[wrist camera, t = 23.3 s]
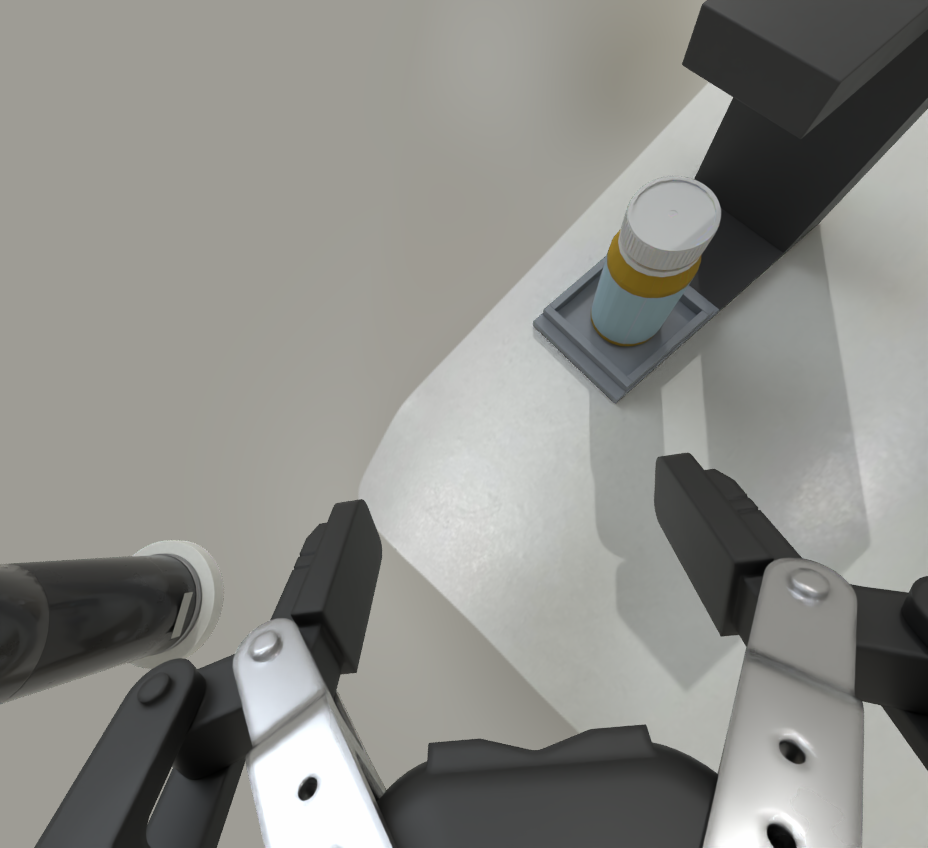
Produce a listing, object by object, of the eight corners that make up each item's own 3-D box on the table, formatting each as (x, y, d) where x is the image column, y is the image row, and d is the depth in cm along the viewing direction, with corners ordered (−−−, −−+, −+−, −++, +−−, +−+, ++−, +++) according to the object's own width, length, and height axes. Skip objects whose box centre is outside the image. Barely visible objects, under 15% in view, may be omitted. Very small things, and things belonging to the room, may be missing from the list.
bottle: (589, 348, 44) (621, 257, 29) (589, 287, 45) (620, 172, 31) (661, 349, 43) (732, 256, 28) (659, 286, 44) (724, 168, 30)
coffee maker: (615, 403, 43) (735, 232, 18) (532, 325, 46) (541, 91, 22) (819, 222, 45) (1178, -156, 20) (726, 159, 48) (937, -232, 23)
